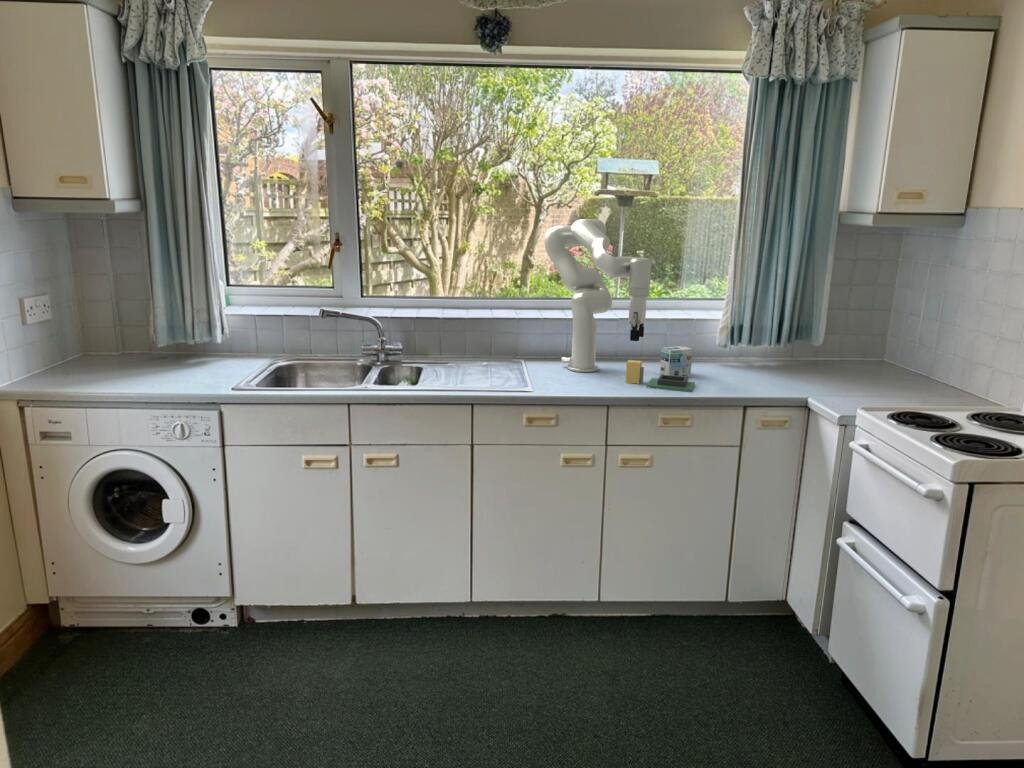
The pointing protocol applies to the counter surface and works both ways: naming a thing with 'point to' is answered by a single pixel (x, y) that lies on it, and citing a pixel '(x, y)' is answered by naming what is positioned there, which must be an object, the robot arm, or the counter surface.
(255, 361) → the counter surface
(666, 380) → the header board
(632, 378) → the keyed plug
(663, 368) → the light bulb box
